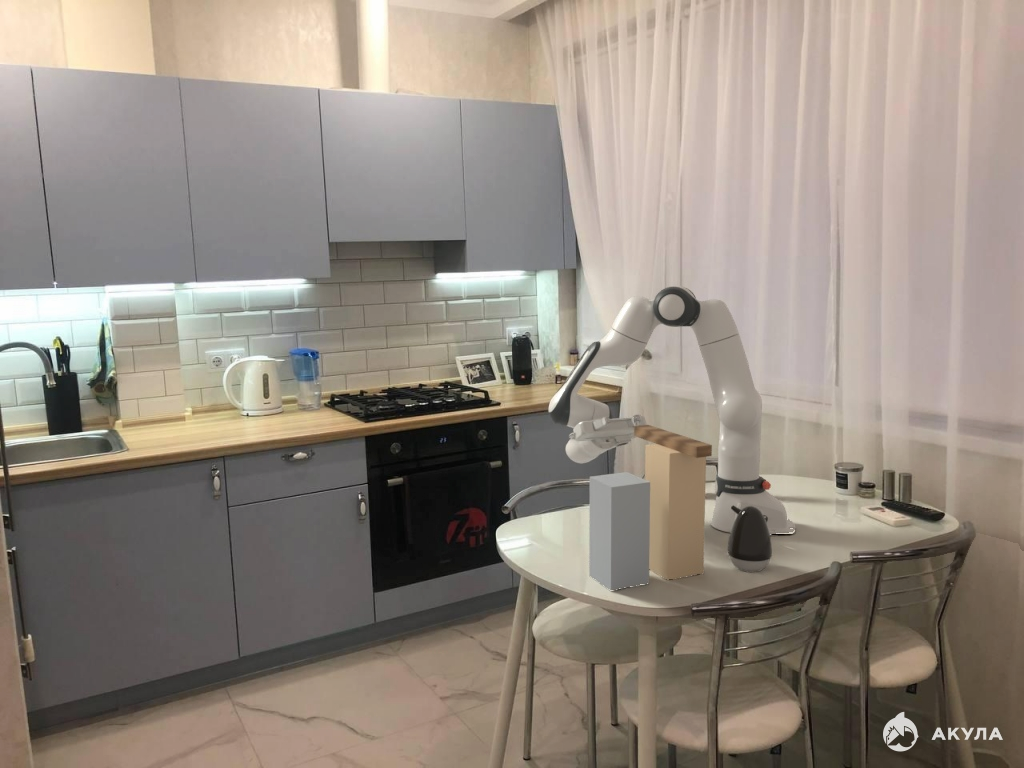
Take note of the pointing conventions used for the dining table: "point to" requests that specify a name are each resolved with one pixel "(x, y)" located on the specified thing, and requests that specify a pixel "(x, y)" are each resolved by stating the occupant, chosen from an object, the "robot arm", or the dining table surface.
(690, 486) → the carton
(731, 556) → the pump dispenser
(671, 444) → the slat
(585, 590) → the dining table surface
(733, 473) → the robot arm
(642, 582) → the grey box
